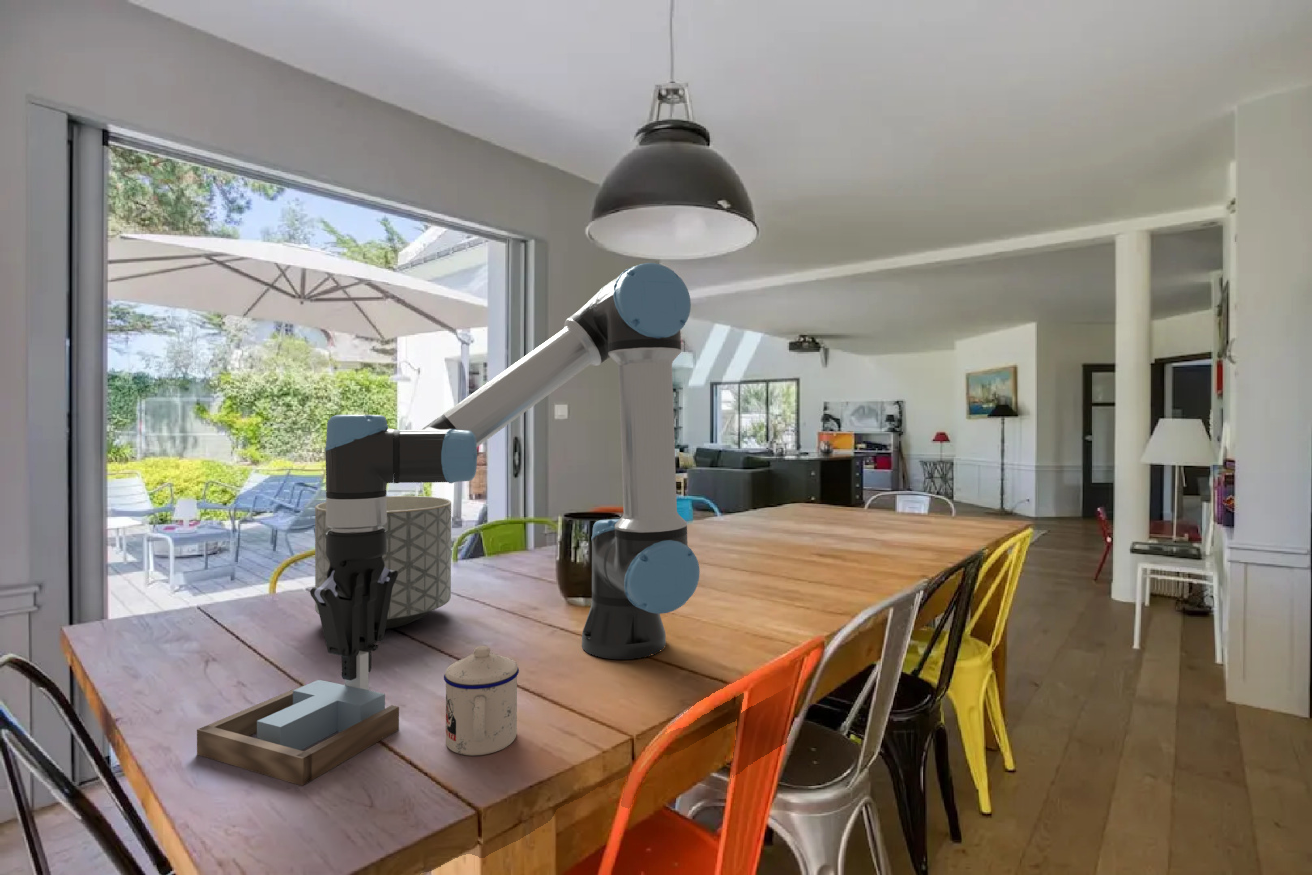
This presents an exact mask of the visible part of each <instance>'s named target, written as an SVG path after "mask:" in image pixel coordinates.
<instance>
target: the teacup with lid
mask: <svg viewBox="0 0 1312 875" xmlns="http://www.w3.org/2000/svg"><path fill="white" fill-rule="evenodd" d="M519 673H520V670H519V665H518V664H517V662H516V661H515V660H514V659H513V658H510V657H507V656H503V655H498V654H496V653H494V652H491V648H490V647H489V646H487V645H478V646H476V647H475V648H474V649H473V653H472V654H470V655H468V656H466V657H465V658H462V659H461V658H460V659H459V660H457V661H454V662H453V663H452V664H450V665H449V666H448V667H447V668H446V670H445V672H444V675H443V680H444V682H445V744H446V747H447V748H448V749H449V750H450V751H451V752H454V753H456V754H459V755H462V756H464V755H465V756H483V755H489V754H492V753H493V754H494V753H496V752H499V751H501V750H503V749H505V748H507V747H508V746H510V745H512V743H514V741H515V739H516V737H517V731H518V730H517V727H518V726H517V725H518V720H517V719H518V714H517V713H518V710H517V709H518V704H517V702H518V699H517V698H518V690H517V689H518V675H519Z"/></svg>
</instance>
